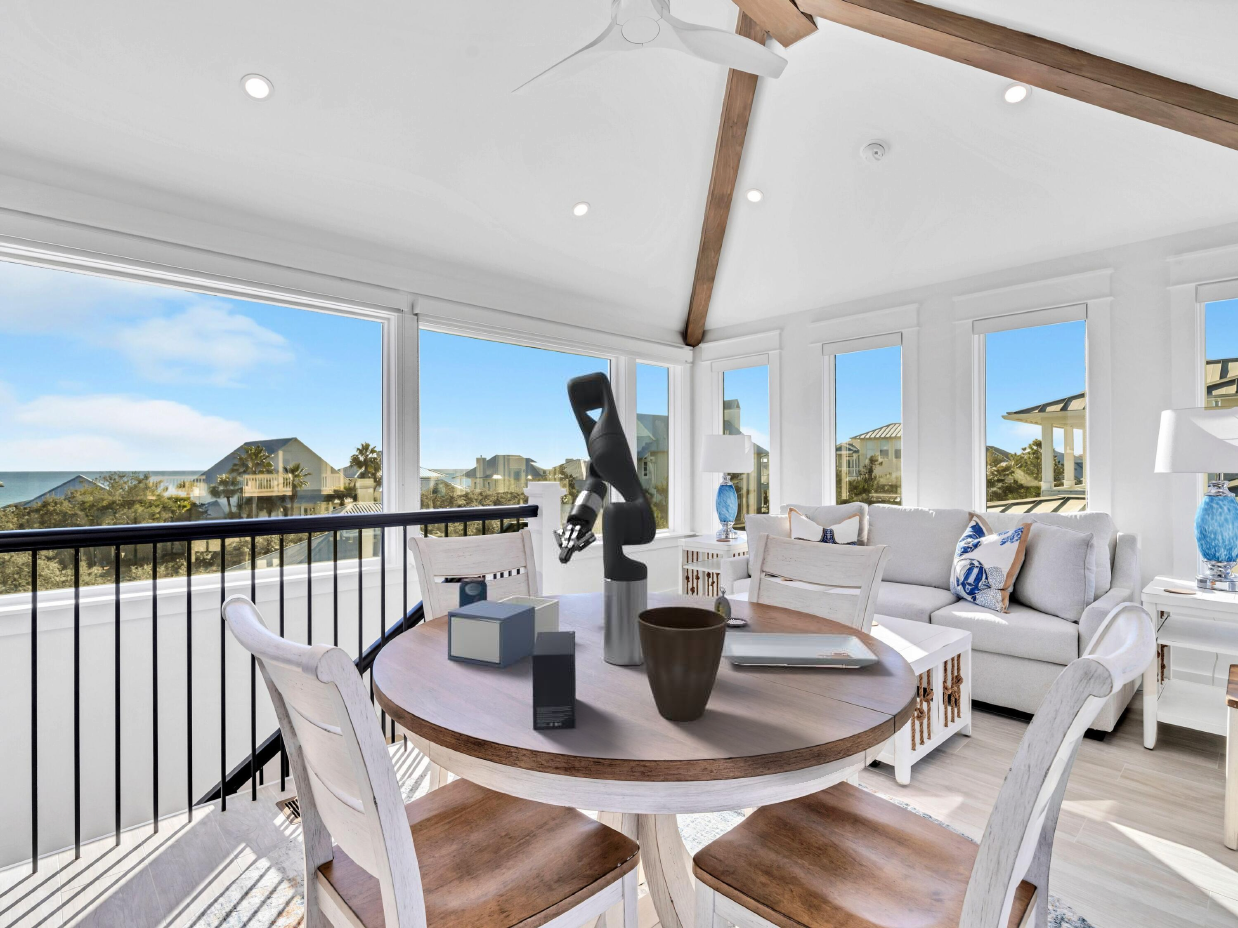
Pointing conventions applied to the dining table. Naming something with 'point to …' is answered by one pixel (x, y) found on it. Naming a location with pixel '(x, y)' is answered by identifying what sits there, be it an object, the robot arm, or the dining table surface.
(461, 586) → the soda can
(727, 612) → the pocket watch
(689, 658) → the plant pot
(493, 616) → the mailer sleeve
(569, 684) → the small box
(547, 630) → the tray
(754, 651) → the tray
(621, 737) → the dining table surface
